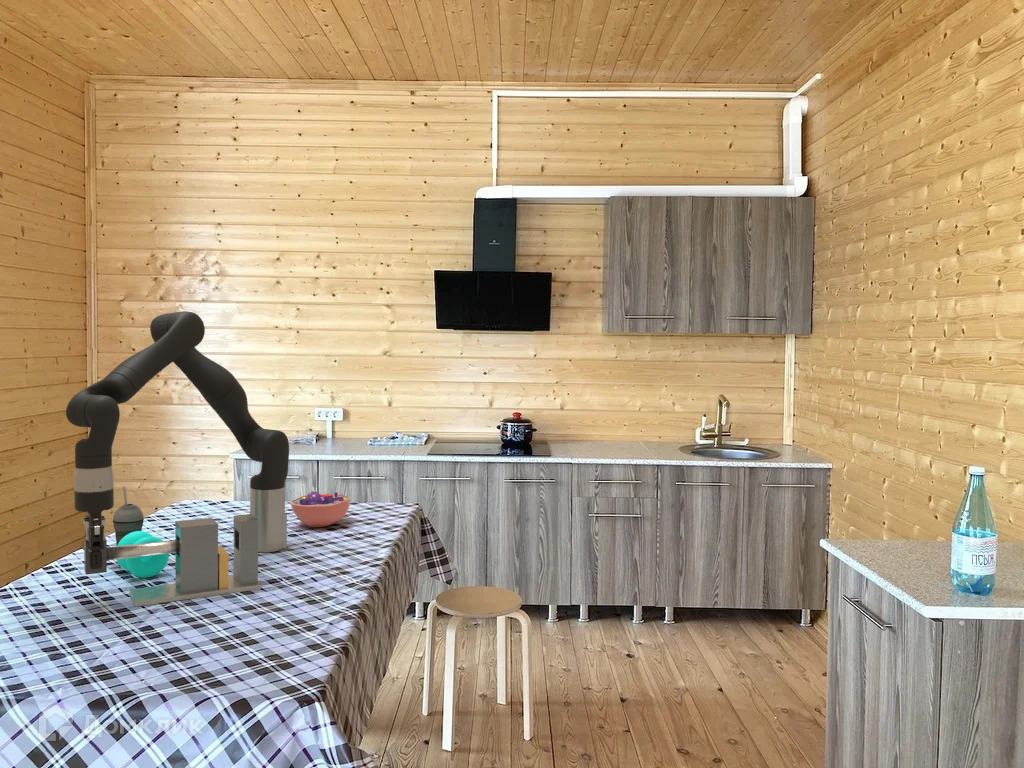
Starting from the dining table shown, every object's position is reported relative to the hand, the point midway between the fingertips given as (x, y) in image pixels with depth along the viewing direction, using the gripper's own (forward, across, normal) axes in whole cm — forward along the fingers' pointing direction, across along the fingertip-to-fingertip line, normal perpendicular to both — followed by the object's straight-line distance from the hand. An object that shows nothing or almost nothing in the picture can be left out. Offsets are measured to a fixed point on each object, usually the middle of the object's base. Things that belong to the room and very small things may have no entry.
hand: (95, 565), depth 173 cm
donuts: (+9, +20, -12) cm, 25 cm away
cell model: (+10, +50, -67) cm, 84 cm away
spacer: (+8, 0, -26) cm, 27 cm away
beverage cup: (+9, +30, -10) cm, 33 cm away
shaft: (+1, 0, -11) cm, 11 cm away
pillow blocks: (+9, 0, -21) cm, 23 cm away
